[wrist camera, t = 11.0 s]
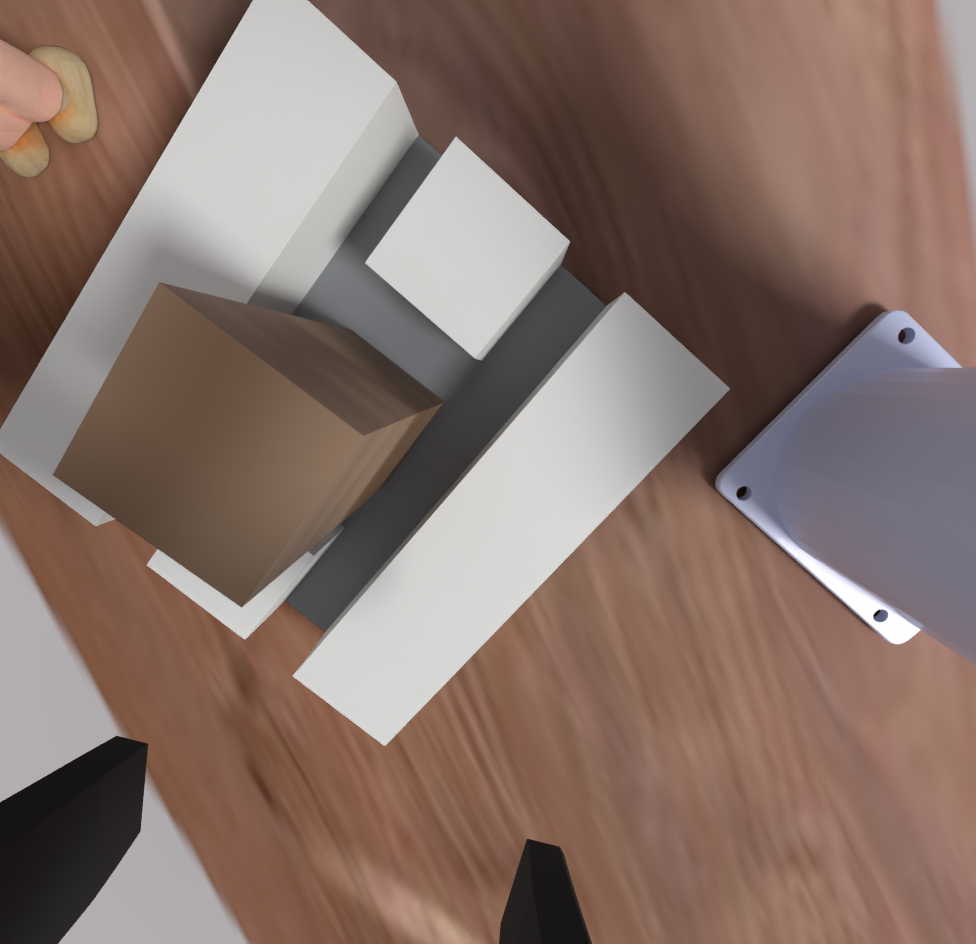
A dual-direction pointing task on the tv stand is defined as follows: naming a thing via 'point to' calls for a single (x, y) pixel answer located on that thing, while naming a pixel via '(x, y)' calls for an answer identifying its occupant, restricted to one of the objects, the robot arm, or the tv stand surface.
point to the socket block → (396, 334)
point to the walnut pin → (241, 435)
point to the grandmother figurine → (42, 104)
